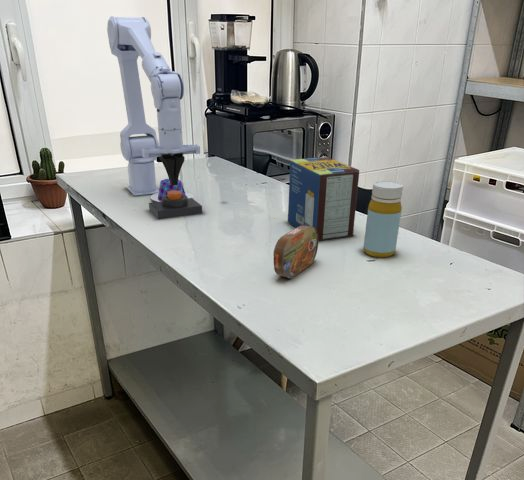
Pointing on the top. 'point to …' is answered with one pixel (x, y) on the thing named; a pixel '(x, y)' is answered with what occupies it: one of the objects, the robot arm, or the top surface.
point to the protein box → (323, 196)
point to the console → (175, 207)
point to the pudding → (166, 187)
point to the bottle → (383, 219)
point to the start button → (174, 195)
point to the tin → (295, 251)
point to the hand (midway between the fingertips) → (173, 184)
